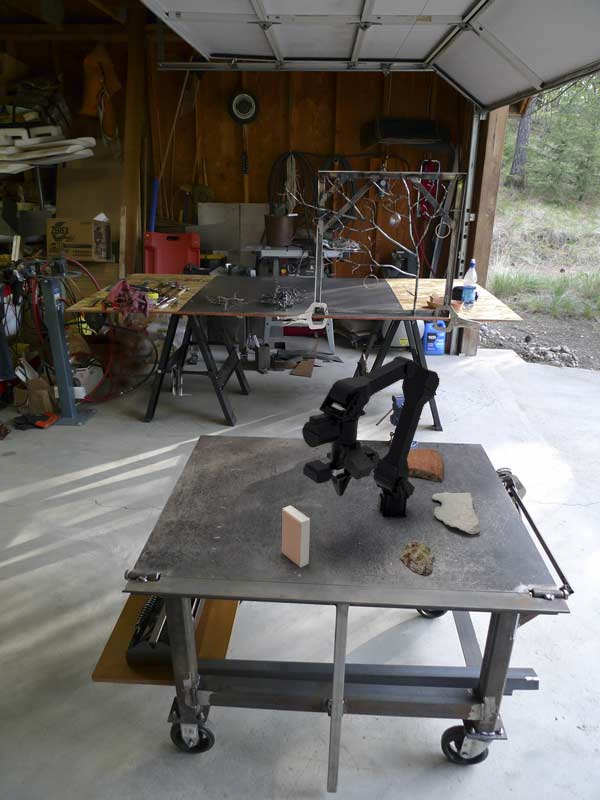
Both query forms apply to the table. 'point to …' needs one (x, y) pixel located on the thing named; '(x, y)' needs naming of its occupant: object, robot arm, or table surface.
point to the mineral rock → (417, 557)
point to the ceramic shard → (425, 464)
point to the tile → (295, 535)
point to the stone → (457, 511)
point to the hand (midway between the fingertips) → (339, 495)
